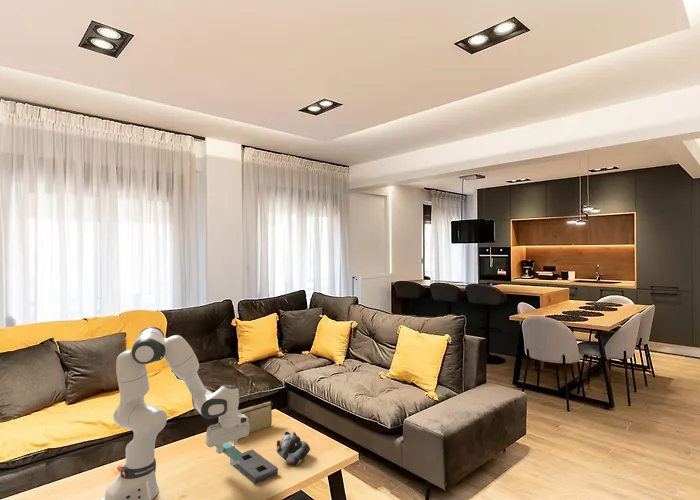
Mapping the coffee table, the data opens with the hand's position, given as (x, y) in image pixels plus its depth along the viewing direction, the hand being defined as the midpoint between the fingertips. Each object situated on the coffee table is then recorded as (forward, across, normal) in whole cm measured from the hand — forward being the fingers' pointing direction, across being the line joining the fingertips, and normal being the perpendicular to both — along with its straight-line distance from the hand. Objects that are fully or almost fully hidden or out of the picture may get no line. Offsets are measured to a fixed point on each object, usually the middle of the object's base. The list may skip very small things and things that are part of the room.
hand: (227, 450), depth 186 cm
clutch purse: (+11, +31, +36) cm, 49 cm away
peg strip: (+3, 0, 0) cm, 3 cm away
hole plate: (+12, +13, -1) cm, 18 cm away
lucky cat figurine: (+12, +32, -7) cm, 35 cm away
